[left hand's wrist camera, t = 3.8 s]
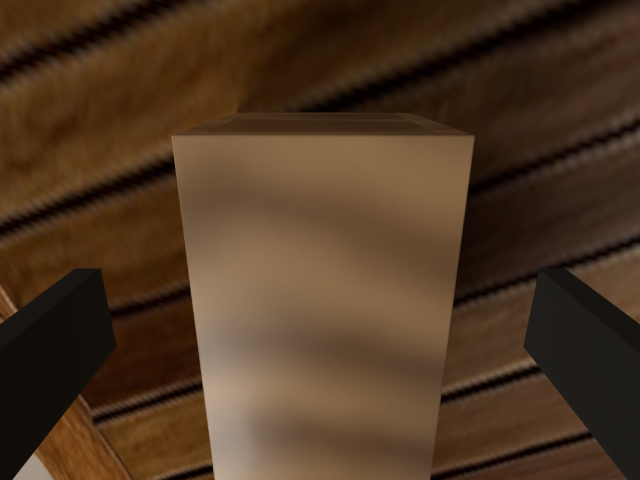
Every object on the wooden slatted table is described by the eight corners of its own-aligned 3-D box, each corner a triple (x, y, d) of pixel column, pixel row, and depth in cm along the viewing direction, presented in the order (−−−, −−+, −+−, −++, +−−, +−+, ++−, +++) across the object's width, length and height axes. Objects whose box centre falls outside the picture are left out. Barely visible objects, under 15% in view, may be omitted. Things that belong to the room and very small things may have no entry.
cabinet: (391, 366, 32) (426, 510, 22) (252, 365, 32) (217, 509, 22) (410, 112, 26) (476, 135, 15) (235, 112, 26) (170, 135, 15)
